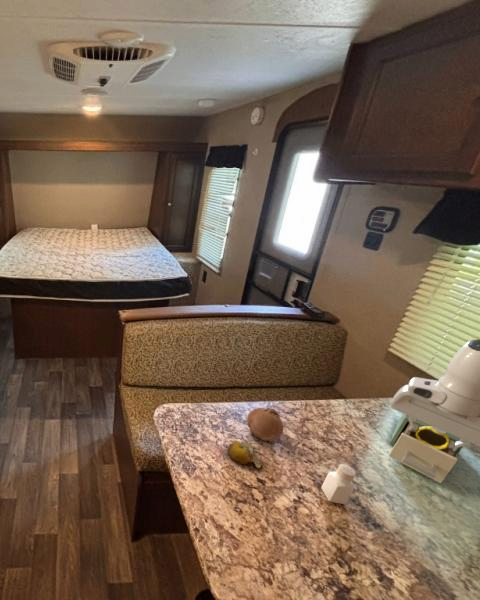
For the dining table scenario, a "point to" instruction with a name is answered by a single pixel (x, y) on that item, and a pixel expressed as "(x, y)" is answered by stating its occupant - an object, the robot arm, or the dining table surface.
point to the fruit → (243, 453)
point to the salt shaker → (339, 484)
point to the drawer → (424, 453)
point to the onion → (265, 423)
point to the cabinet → (405, 420)
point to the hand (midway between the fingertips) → (430, 439)
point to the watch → (435, 432)
